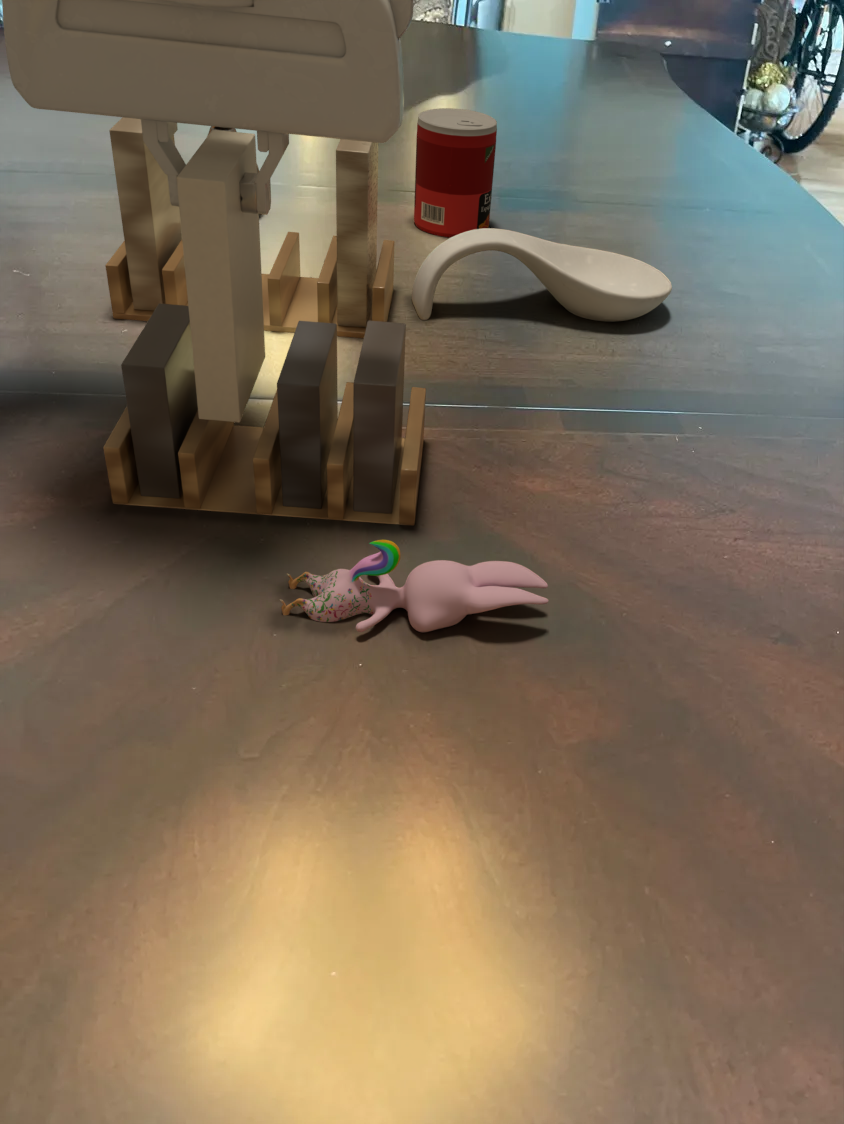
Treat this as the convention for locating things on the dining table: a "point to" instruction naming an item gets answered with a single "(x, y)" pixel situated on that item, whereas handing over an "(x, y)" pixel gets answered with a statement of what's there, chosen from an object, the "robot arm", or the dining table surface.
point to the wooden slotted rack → (335, 297)
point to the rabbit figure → (416, 590)
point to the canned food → (454, 170)
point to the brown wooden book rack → (271, 431)
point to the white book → (222, 274)
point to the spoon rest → (555, 274)
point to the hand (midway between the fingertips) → (221, 207)
